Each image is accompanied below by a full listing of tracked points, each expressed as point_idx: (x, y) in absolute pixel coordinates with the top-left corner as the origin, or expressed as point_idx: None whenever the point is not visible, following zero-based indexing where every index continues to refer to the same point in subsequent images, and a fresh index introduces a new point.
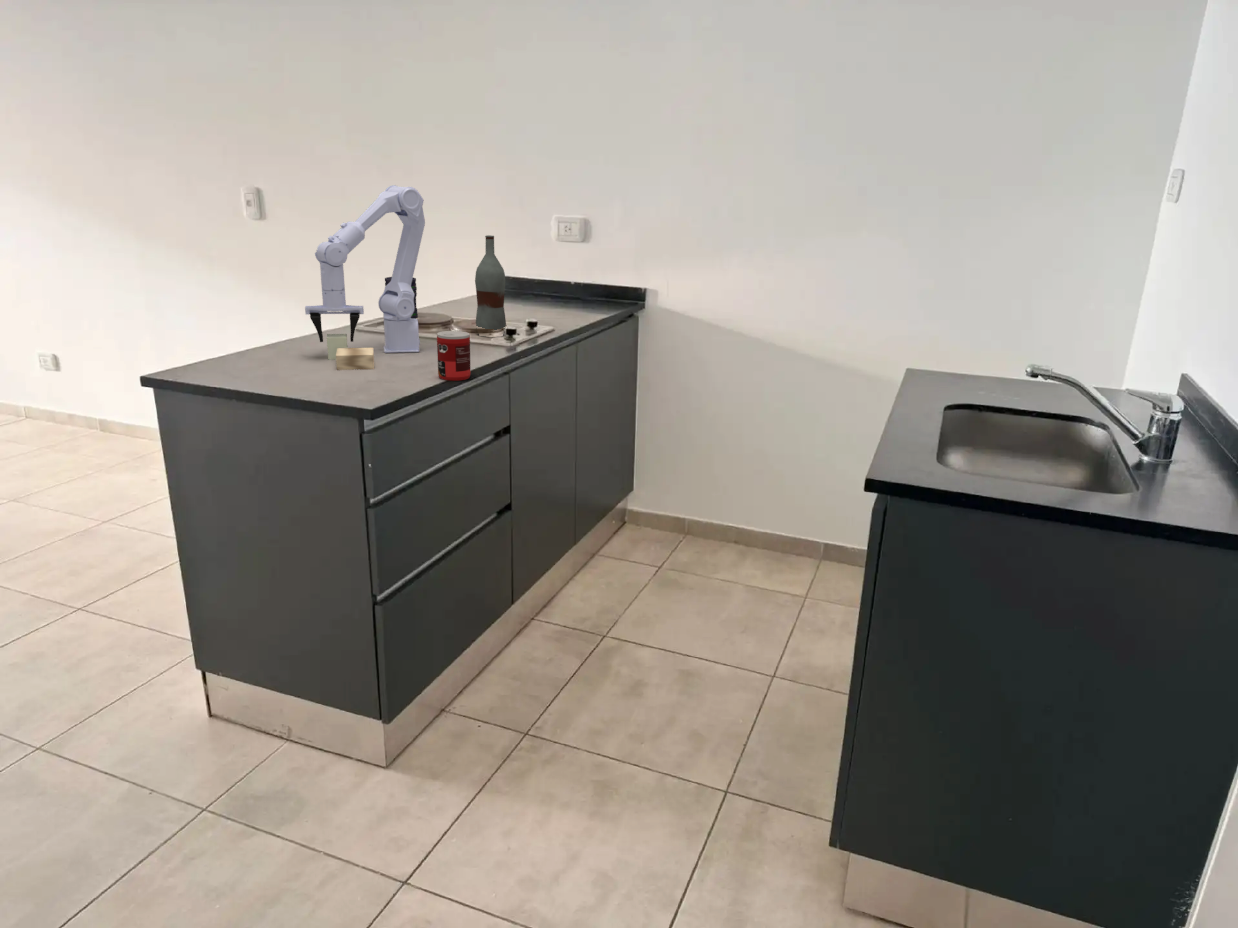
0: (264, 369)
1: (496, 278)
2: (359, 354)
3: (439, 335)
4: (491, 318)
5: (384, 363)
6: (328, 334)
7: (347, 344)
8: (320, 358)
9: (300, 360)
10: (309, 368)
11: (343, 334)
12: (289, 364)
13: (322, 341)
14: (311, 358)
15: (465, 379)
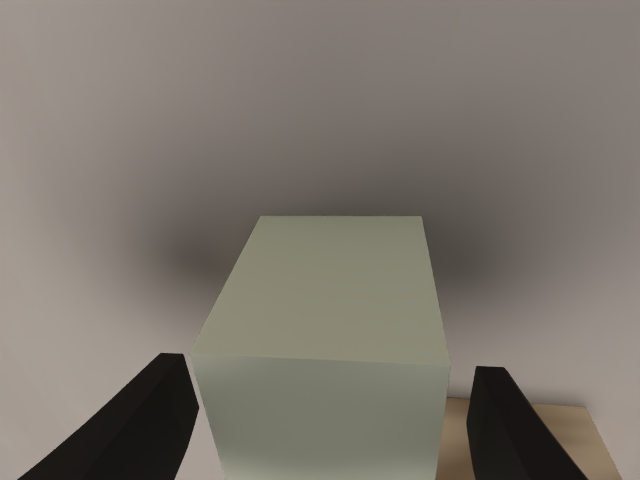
0: (21, 452)
1: None
2: None
3: None
4: None
5: (636, 455)
6: (212, 378)
7: (432, 279)
8: (215, 287)
9: (104, 322)
10: (214, 470)
11: (402, 402)
12: (86, 395)
13: (194, 416)
14: (153, 280)
15: None
